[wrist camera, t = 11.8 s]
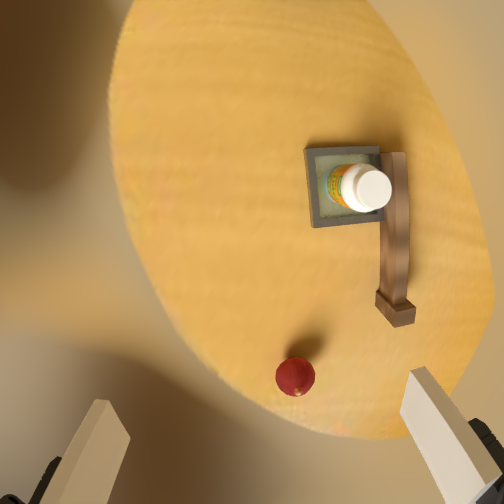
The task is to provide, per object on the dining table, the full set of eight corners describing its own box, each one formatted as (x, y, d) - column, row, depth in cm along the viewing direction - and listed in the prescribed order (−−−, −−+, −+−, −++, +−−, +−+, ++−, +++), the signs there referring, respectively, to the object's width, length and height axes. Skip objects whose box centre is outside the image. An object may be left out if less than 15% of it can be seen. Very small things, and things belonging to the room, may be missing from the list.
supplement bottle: (319, 171, 35) (343, 171, 26) (356, 159, 35) (389, 156, 26) (332, 211, 37) (359, 223, 27) (368, 198, 36) (403, 206, 27)
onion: (314, 368, 44) (324, 401, 36) (281, 380, 44) (286, 414, 36) (304, 341, 42) (313, 374, 34) (268, 354, 43) (272, 388, 35)
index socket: (303, 149, 35) (305, 148, 33) (374, 146, 35) (378, 145, 33) (311, 226, 38) (313, 228, 36) (379, 218, 37) (384, 220, 36)
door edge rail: (371, 154, 35) (395, 151, 28) (391, 153, 35) (417, 151, 28) (375, 305, 41) (394, 327, 34) (393, 302, 41) (414, 323, 34)
